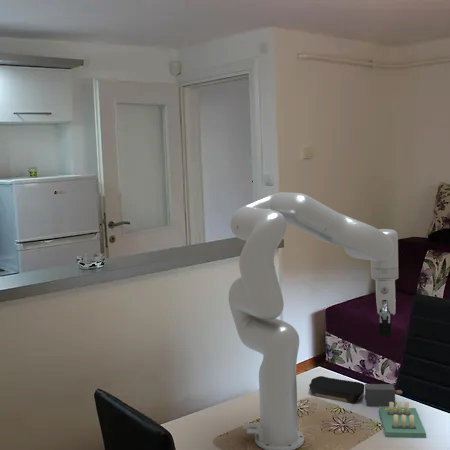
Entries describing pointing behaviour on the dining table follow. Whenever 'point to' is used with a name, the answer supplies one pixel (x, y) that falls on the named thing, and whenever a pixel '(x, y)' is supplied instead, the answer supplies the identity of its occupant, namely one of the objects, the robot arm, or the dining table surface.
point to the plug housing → (380, 394)
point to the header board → (401, 421)
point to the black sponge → (336, 389)
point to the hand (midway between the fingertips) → (385, 331)
